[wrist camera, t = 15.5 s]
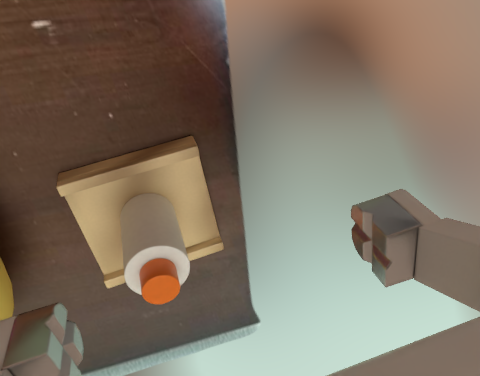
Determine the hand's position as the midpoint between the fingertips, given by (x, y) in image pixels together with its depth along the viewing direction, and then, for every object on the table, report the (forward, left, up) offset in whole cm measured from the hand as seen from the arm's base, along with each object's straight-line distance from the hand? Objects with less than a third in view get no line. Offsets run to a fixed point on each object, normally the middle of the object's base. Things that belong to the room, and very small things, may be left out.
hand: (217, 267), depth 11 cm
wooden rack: (+4, +13, -25) cm, 29 cm away
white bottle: (+4, +13, -24) cm, 27 cm away
